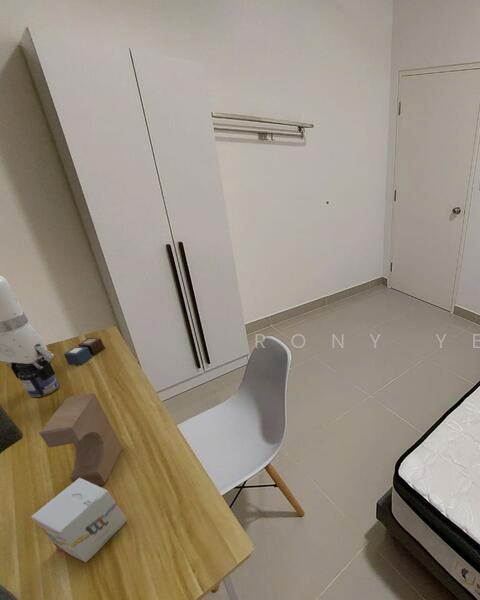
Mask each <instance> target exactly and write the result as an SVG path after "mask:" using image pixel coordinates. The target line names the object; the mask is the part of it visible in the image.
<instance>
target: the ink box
mask: <svg viewBox="0 0 480 600" xmlns="http://www.w3.org/2000/svg"><path fill="white" fill-rule="evenodd" d="M30 518H31V519H32V520H33V521H34V522H35V523H36V524H37V526H38V527H39V528H40V529H41V531H42V532H43V533H44V534H45V535H46V536H47V538H48V539H49V540H50V541H51V542H52V544H53V545H54V547H55V548H56V549H58V550H59V551H62V552H64V553H66V554H68V555H70V556H71V557H73V558H76V559H78V560H80V561H83V562H84V563H88V562H89V561H90V559H92V557H94V556H95V554H96V553H98V552H99V550H101V548H103V547H104V545H105V544H106V543H107V542H109V540H110V539H111V538H112V537H113V536H114V535H115V534H116V533H117V532H118V531H119V530H120V529H121V528H122V527H123V526H124V525H125V524H126V523H127V521H128V519H127V518H126V516H125V515H124V513H123V512H122V510H121V509H120V507H119V506H118V504H117V503H116V501H115V500H114V498H113V496H112V495H111V493H110V492H109V490H108V489H106V488H103V487H101V486H97V485H95V484H92V483H90V482H88V481H86V480H84V479H81V478H78V479H77V480H76V481H75V482H72V483H71V484H70V485H68V486H67V487H65V488H64V489H63V490H62V491H61V492H59V493H58V494H57V495H56V496H54V497H53V498H52V499H51V500H49V501H48V502H47V503H46V504H44V505H43V506H42V507H41V508H39V509H38V510H37V511H36V512H34V513H33V514H32V515H31V517H30Z"/></svg>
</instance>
